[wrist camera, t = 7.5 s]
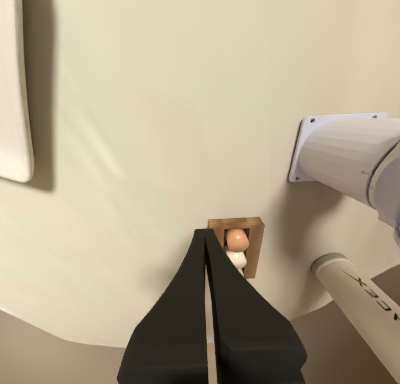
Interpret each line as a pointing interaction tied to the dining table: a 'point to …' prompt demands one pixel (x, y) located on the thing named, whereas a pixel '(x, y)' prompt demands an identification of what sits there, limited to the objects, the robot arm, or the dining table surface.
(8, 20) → the salad plate
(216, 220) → the panel
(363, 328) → the travel mug
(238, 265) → the button mid
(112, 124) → the dining table surface
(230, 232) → the button
